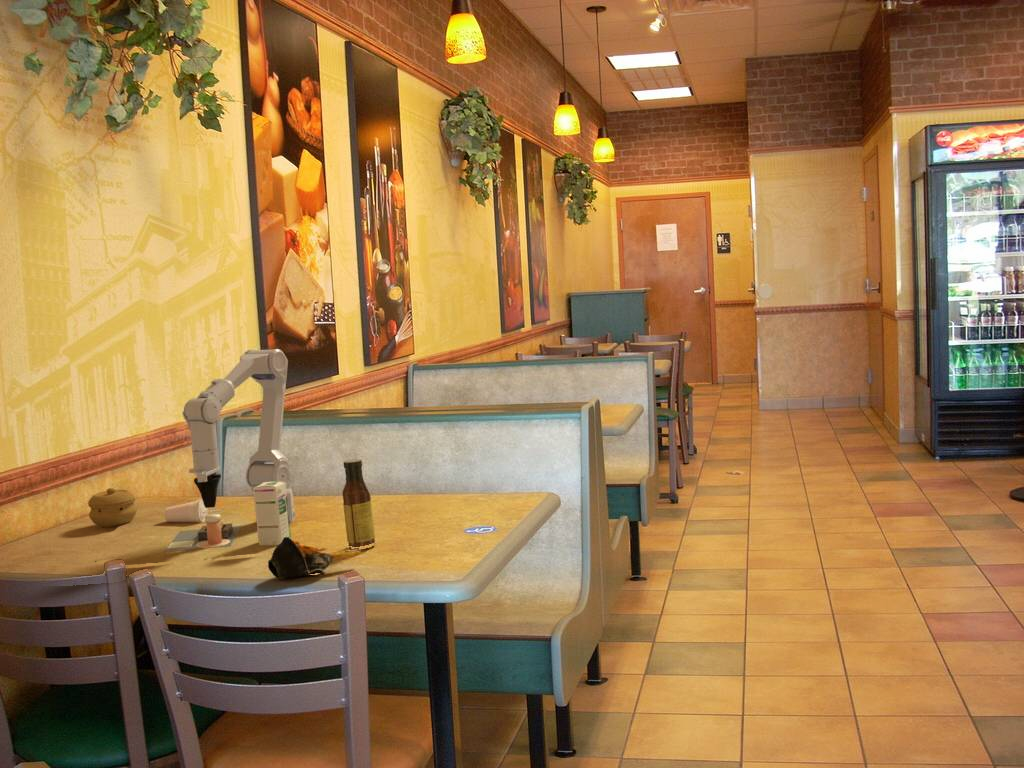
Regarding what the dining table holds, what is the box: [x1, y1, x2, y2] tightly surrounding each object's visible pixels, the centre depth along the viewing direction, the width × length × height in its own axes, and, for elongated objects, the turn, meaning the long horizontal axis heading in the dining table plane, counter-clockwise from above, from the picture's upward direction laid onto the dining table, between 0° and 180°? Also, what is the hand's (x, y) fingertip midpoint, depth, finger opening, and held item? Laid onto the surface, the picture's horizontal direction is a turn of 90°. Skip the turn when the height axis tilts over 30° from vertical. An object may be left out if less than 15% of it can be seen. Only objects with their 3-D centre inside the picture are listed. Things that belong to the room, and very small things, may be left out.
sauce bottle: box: [342, 458, 376, 547], centre depth 238 cm, size 6×6×20 cm
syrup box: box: [252, 481, 292, 546], centre depth 245 cm, size 6×6×14 cm
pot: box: [87, 487, 138, 528], centre depth 277 cm, size 12×12×10 cm
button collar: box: [198, 523, 234, 541], centre depth 255 cm, size 7×7×2 cm
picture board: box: [163, 525, 243, 553], centre depth 254 cm, size 15×20×1 cm
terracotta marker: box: [204, 513, 222, 545], centre depth 248 cm, size 4×4×6 cm
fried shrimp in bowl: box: [267, 537, 362, 579], centre depth 220 cm, size 9×11×18 cm
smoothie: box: [164, 498, 220, 523], centre depth 274 cm, size 6×6×14 cm
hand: (210, 507), depth 248 cm, fingers closed
